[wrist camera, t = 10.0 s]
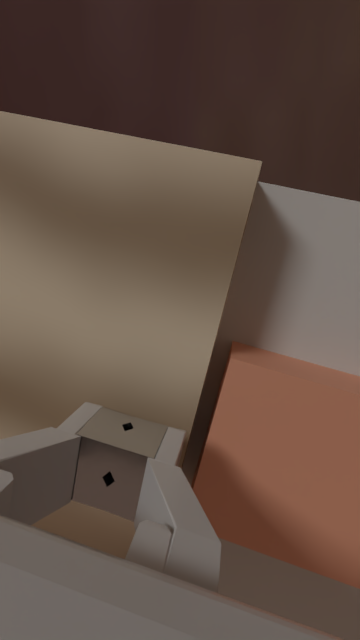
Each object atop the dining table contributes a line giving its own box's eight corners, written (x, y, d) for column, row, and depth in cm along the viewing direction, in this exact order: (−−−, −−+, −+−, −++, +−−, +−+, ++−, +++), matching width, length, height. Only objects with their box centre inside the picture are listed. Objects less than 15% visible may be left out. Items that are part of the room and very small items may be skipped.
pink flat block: (232, 340, 11) (231, 358, 9) (514, 419, 10) (578, 458, 8) (191, 483, 13) (182, 524, 11) (435, 567, 11) (474, 630, 9)
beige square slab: (-106, 110, 12) (-191, 74, 10) (257, 183, 10) (262, 161, 8) (-113, 465, 16) (-176, 502, 13) (156, 566, 14) (138, 631, 12)
